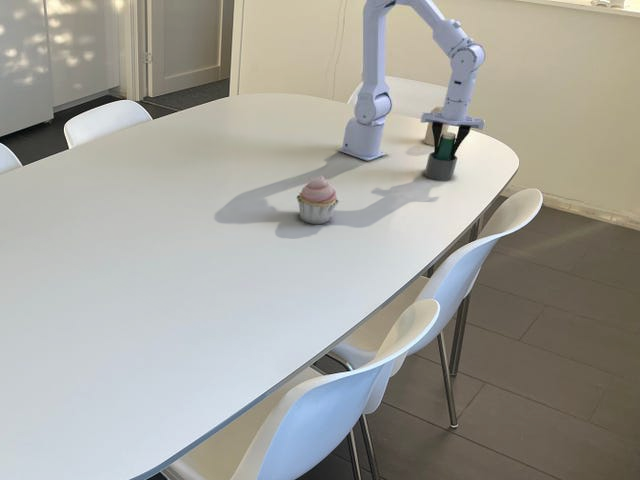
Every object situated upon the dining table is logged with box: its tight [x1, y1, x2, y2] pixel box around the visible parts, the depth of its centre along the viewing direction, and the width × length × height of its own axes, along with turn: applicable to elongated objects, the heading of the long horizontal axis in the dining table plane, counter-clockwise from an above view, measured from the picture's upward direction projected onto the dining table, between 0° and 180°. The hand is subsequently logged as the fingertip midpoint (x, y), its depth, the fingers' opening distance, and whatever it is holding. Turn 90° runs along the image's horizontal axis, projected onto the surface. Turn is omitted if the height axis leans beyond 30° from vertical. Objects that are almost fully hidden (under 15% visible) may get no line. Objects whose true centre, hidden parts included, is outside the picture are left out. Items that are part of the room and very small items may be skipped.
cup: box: [424, 151, 458, 181], centre depth 186 cm, size 7×7×5 cm
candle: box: [423, 106, 450, 146], centre depth 204 cm, size 6×6×10 cm
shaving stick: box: [435, 131, 457, 161], centre depth 183 cm, size 4×4×8 cm
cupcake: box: [295, 175, 340, 225], centre depth 161 cm, size 9×9×10 cm
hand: (443, 154), depth 184 cm, fingers closed on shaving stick, 3 cm apart
